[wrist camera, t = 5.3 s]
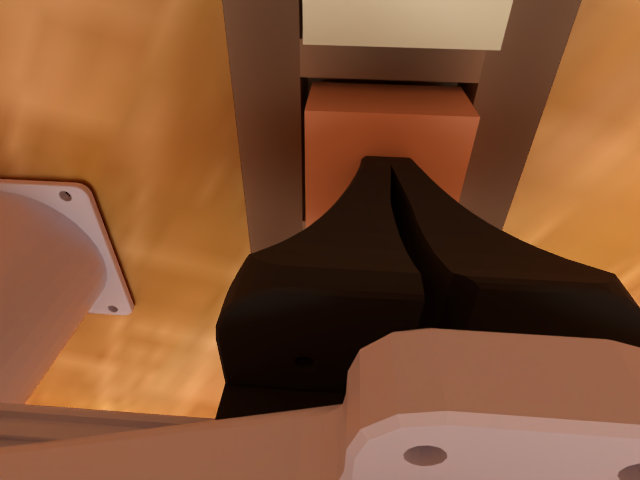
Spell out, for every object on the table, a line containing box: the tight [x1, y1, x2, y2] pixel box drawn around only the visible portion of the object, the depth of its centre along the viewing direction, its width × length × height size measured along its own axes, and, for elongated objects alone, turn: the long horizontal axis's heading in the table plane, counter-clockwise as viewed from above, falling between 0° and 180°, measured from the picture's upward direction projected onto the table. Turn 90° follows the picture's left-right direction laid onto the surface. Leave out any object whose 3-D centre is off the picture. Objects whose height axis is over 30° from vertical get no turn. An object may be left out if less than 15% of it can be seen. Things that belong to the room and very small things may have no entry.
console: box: [222, 0, 582, 253], centre depth 13 cm, size 9×26×3 cm, turn 179°
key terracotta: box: [305, 82, 480, 228], centre depth 13 cm, size 4×4×2 cm
